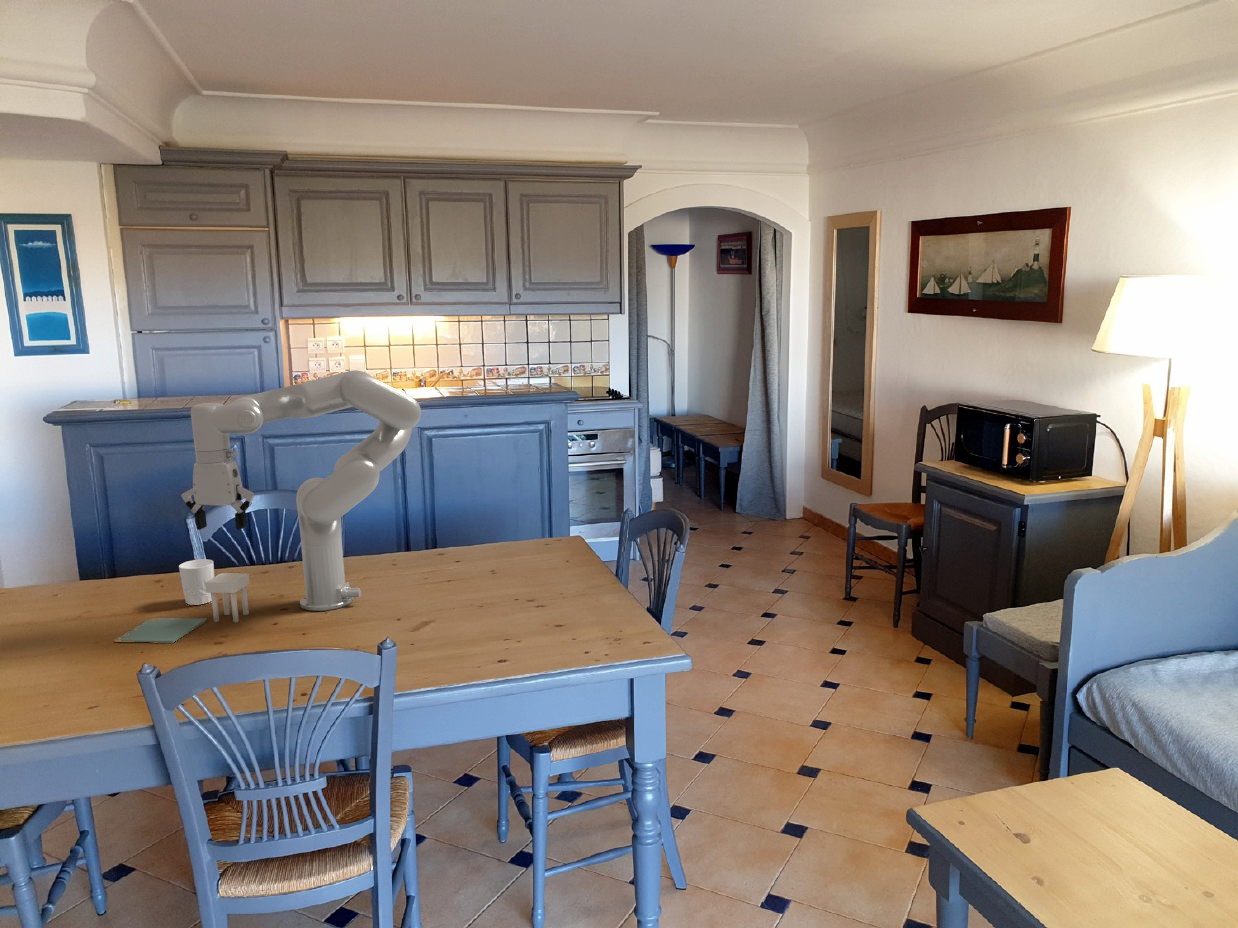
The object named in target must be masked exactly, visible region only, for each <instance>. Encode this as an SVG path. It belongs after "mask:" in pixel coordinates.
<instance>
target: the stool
mask: <svg viewBox="0 0 1238 928" xmlns="http://www.w3.org/2000/svg"><path fill="white" fill-rule="evenodd" d="M249 575H250V573H248V572H247V573H246V572H245V573H243V572H242V573H238V572H237V573H235V572H234V573H233V572H230V573H229V572H224V573H222V572H221V573H219V574H217V575H216V576H215V575H214V578H212V579H210V580H209V581H207V582H205V584H206V593H211V600H212V602H211V607H212V615H213V622H214V623H219V622H220V614H219V605H218V595H217V594H218V593H219V594H222V595H221V596H222V604H223V606H222V607H223V613H224V616H229V615H231V614H230V613H232V621H233V623H239V622H240V617H239V611H238V602H237V601H238V600H237V592H238V591H240V595H241V605H242V615H243V616H249V612H250V611H249V603H248V594H247V586H248V585H250V582H251V581H250V576H249ZM229 594H230V601H231V611H232V612H230V605H229ZM218 621H219V622H218Z"/></svg>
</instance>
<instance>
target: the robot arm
mask: <svg viewBox="0 0 1238 928" xmlns="http://www.w3.org/2000/svg"><path fill="white" fill-rule="evenodd" d="M352 407H354V408H355V409H356V410H359V411H361V412H363V413H365V414H367V415H368V416H370V417H373V418H375V419H377V420H379V422H378V425H377V426H376V427H375V429H374V431H373V432H372V433H370V434H369V435H367V437H365V438H364V439H363V440H361V442H359V443H358V444H357V445H356V446H354V447H353V448H351V449H350V450H348V451H347V452H346V453H344V454H342V456H341V457H339V458H338V459H337V460H336V461H335V463H334V464H335V465H334V468H333V472H332V473H331V474H329V476H327V477H325V478H322V477H312V478H308V479H307V480H305V481H304V482H303V483H302V484H301V485H300V486H299V487H298V490H297V492H296V496H295V497H296V500H295V503H296V510H297V518H298V524H299V525H298V526H299V533H300V543H301V545H300V546H301V554H302V555H301V558H302V568H303V569H302V570H303V579H304V580H303V581H304V589H305V595H304V597H302V598H301V599H300V600H299V606H300V608H301V609H304V610H306V611H312V612H314V611H315V612H319V611H320V612H322V611H323V612H324V611H331V610H335V609H336V610H337V609H340V608H342V607H343V608H344V607H345V606H347V605H349V604H351V603H352V602H353V599H354V598H355V599H360V598H361V597H362V590H361V588H360V587H351V586H350V582H349V581H346V576H345V567H344V566H345V565H344V564H345V563H344V554H343V543H342V542H343V537H342V526H341V520H340V518H342V517H343V516H344V515H346V514H347V513H348V512H349V511H350V510H352V509H353V508H355V507H357V505H358V504H359V503H361V502H362V501H363V500H364V499H366V498H367V497H368V496H369V495H370V494H372V492H373V491H374V490H375V489H376V487H377V486H378V484H379V481H380V477H381V476H380V475H381V474H380V473H381V471H383V470H384V469H385V468H387V466H388V465H390V464H391V463H392V462H393V461H395V459H397V458H398V457H399V456H400V455H401V454H402V453H403V451H404V450H405V448H406V447H407V446H408V443H409V441H410V439H411V436H412V431H413V428H414V427H415V426H416V425H417V424H418V423H419V422H420V420H421V418H422V417H421V416H422V409H421V405H420V403H419V402H418V401H417V399H415V398H414V397H412V396H410V395H408V394H407V393H404V392H402V391H400V390H398V389H397V388H394V387H392V386H390V385H388V384H386V383H385V382H383V381H381V380H380V379H377V378H376V377H374V376H373V375H370V373H367V372H364V371H362V370H358V369H357V370H348V371H344V372H340V373H336V374H332V375H329V376H325V377H321V378H320V377H319V378H316V379H312V380H310V381H304V382H300V383H295V384H292V385H289V386H288V385H287V386H285V387H280V388H276V389H271V390H266V391H262V392H259V393H258V392H257V393H254V394H249V395H246V396H243V397H239V398H237V399H235V400H234V401H232V402H231V403H230V404H223V403H220V402H204V403H199V404H195V405H193V406H191V408H190V419H191V428H192V435H193V445H194V446H193V447H194V453H195V463H194V464H193V469H192V470H193V471H192V487H191V488H190V489H189V490H187V491H184V492H183V493H181V495H180V496H181V498H182V500H183V501H184V503H185V506H187V508H188V509H190V511H191V513H192V514H193V515H194V523H195V525H196V530H198V531H199V530H202V529H205V528H206V527H207V526H208V524H207V515H206V514H207V513H206V510H205V509H204V508H205V507H206V506H213V507H214V506H215V507H216V506H231V507H232V508H233V509H234V510H235V511H236V513H234V518H235V519H234V520H235V526H236V527H235V528H236V530H237V531H240V530H243V529H245V528H246V526H247V522H248V521H247V513H246V511H248V508H249V507H250V506H251V505H252V503H253V500H254V498H255V493H254V492H253V491H251V490H249V489H247V488H244V487H243V483H242V479H241V478H242V477H241V473H240V470H239V466H238V464H237V461H236V460H233V458H236V457H237V452H236V451H232V448H231V442H230V439H231V438H230V434H234V435H237V434H238V435H248V434H253V433H255V432H257V431H258V430H260V428H261V427H262V425H263V424H268V423H271V422H275V421H280V420H286V419H308V418H316V417H319V416H323V415H325V414H326V415H327V414H329V413H333V412H337V411H340V410H345V409H349V408H352ZM192 496H193V498H192ZM244 497H245V499H244ZM243 499H244V501H243Z"/></svg>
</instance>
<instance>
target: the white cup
mask: <svg viewBox="0 0 1238 928" xmlns="http://www.w3.org/2000/svg"><path fill="white" fill-rule="evenodd" d="M214 566H215V565H214V560H212V559H207V558H206V559H203V558H201V559H193V560H189V561H185V562H183V563H181V564H179V565H178V569H179V576H180V580H181V587H182V592H183V595H184V600H185V604H186V603H188V604H194V605H199V604H204V603H207V602H210V601H212V600H211V593H206V584H205V582H207V581H209V580H210V579H212V578H214V577H215V567H214Z"/></svg>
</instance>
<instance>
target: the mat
mask: <svg viewBox="0 0 1238 928" xmlns="http://www.w3.org/2000/svg"><path fill="white" fill-rule="evenodd" d="M156 618H157V619H161V620H155V621H152V620H151V621H148V619H147V620H145V621H144V622H142V623H141V624H142V625H140V624H139V626H138V625H137V626H135V627H133V628H132V629H137V630H132V629H131V630H132V631H130V630H128V631H127V632H125V633H124V634H126V635H125V636H122V635H119V637H118V638H121V639H120V640H121V641H134V642H160V643H159V644H175V643H176V642H178V641H179V640H180V639H179V638H181V637H182V638H184V637H185V636H186V635H185V634H187V635H189V632H190V631H191V630H192V629H194V630H195V629H197V628H199V627H200V626H201V625H203V624H205V622H204V621H206V620H207V621H208V619H207V618H191V617H190V618H184V617H182V618H180V617H179V618H178V617H150V618H149V619H156ZM164 619H166V620H164ZM171 619H174V620H171ZM207 621H206V622H207ZM202 623H203V624H202ZM200 624H201V625H200ZM199 625H200V626H199ZM196 627H197V628H196ZM191 632H192V631H191ZM191 632H190V633H191ZM128 634H129V635H128ZM184 635H185V636H184ZM183 636H184V637H183ZM182 638H181V639H182ZM178 639H179V640H178ZM116 640H119V639H117V638H116ZM177 640H178V641H177ZM175 641H176V642H175ZM174 642H175V643H174Z"/></svg>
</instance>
